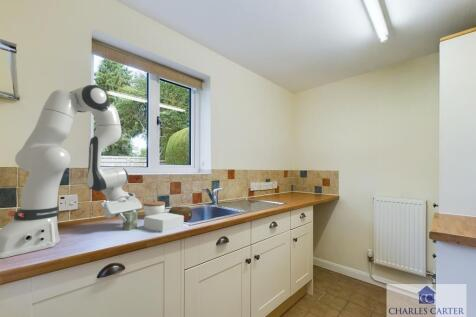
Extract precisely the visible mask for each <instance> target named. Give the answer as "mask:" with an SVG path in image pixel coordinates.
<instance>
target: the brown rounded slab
mask: <svg viewBox="0 0 476 317" xmlns="http://www.w3.org/2000/svg"><path fill="white" fill-rule="evenodd" d="M168 213H171V214H177V215H183V216H184V223H186V222H189V221H191V220H192V219H193V217H194V210H193V209H192V208H191V207H189V206H179V205H177V206H172V207H170V208H169V209H168Z"/></svg>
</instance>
